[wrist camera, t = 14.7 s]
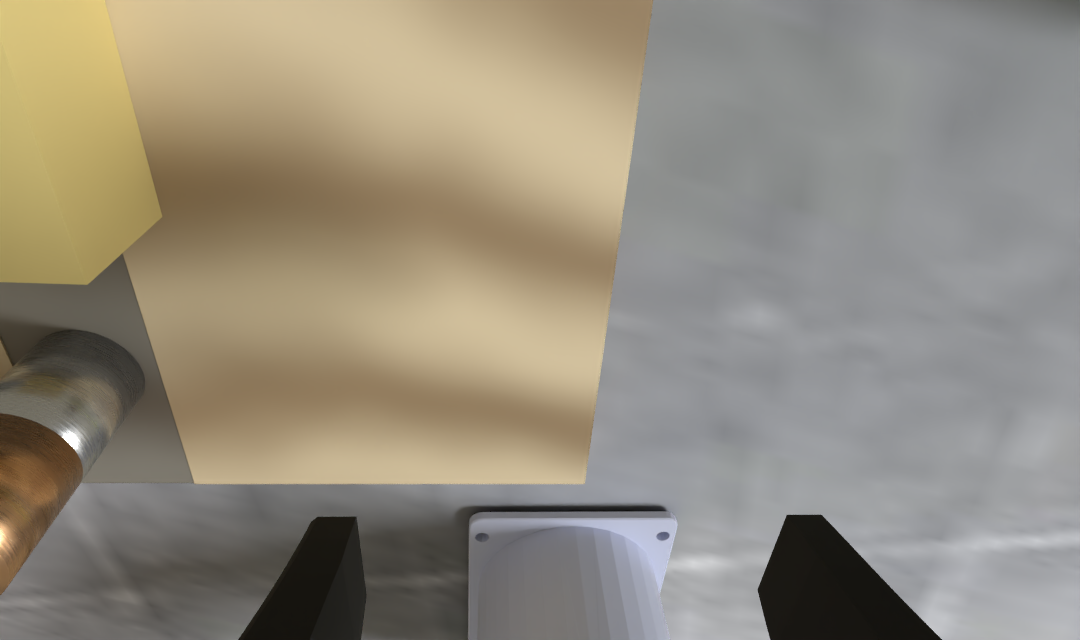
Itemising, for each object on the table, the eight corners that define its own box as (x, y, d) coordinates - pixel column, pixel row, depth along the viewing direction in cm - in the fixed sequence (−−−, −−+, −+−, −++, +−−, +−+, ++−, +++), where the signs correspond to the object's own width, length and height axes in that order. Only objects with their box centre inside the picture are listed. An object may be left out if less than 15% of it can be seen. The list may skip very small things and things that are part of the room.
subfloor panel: (580, 459, 24) (584, 483, 23) (-8, 457, 22) (-33, 483, 21) (669, -212, 13) (684, -223, 12) (-418, -313, 12) (-504, -334, 11)
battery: (157, 412, 20) (30, 605, 14) (52, 412, 20) (-117, 609, 14) (128, 330, 18) (-26, 513, 13) (15, 329, 18) (-193, 515, 12)
